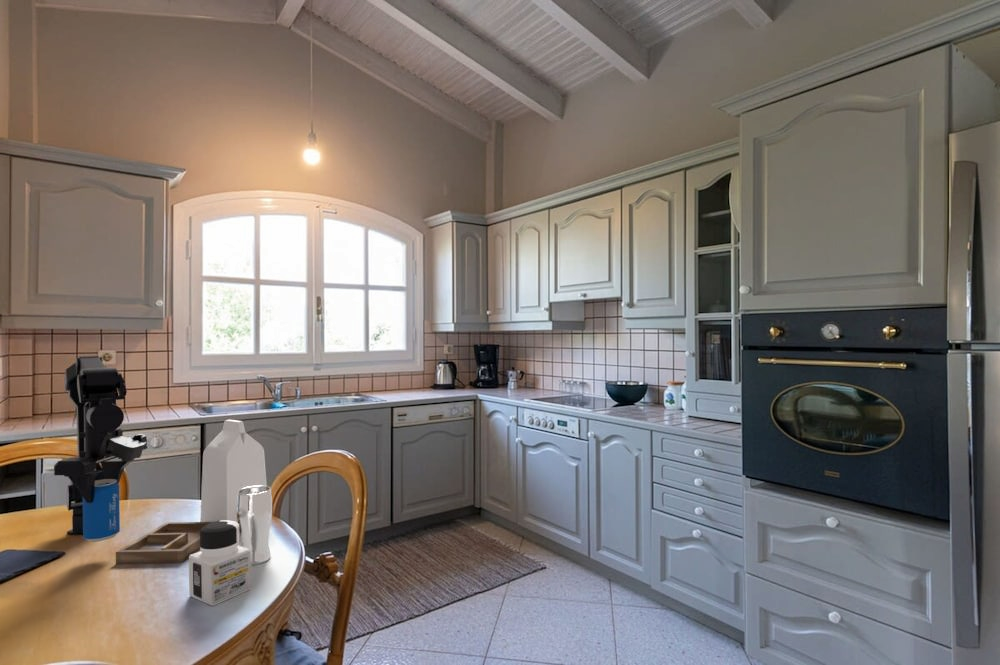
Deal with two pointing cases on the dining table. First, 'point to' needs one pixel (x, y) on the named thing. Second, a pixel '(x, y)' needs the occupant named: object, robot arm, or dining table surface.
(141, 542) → the tray
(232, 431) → the milk
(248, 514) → the beer glass
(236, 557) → the container
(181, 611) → the dining table surface
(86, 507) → the beverage can
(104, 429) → the robot arm
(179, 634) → the dining table surface
